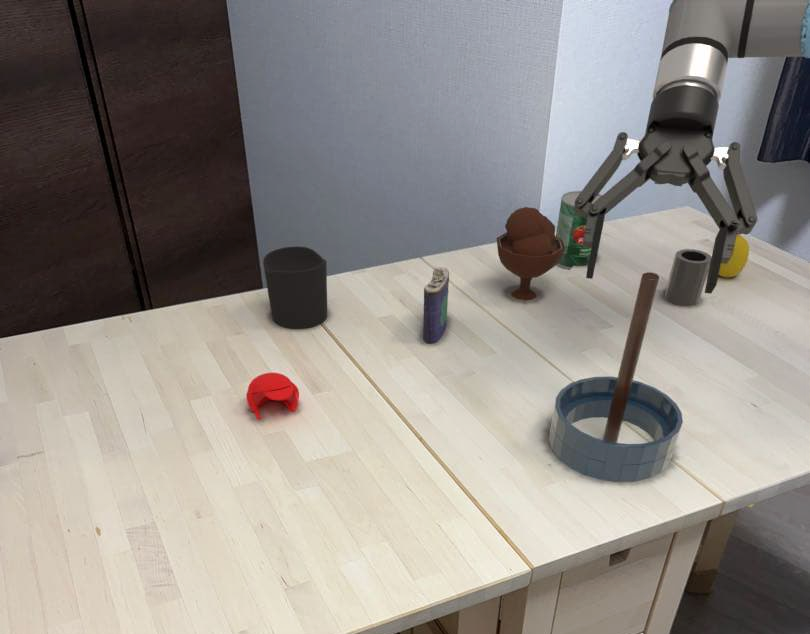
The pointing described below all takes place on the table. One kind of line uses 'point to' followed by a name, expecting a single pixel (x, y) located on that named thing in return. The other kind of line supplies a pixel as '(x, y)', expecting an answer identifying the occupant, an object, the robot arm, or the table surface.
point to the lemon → (736, 258)
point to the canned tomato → (572, 233)
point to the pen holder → (296, 287)
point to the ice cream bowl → (529, 248)
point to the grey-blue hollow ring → (609, 457)
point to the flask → (435, 305)
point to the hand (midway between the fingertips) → (649, 281)
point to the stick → (631, 354)
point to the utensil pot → (687, 277)
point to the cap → (272, 392)
